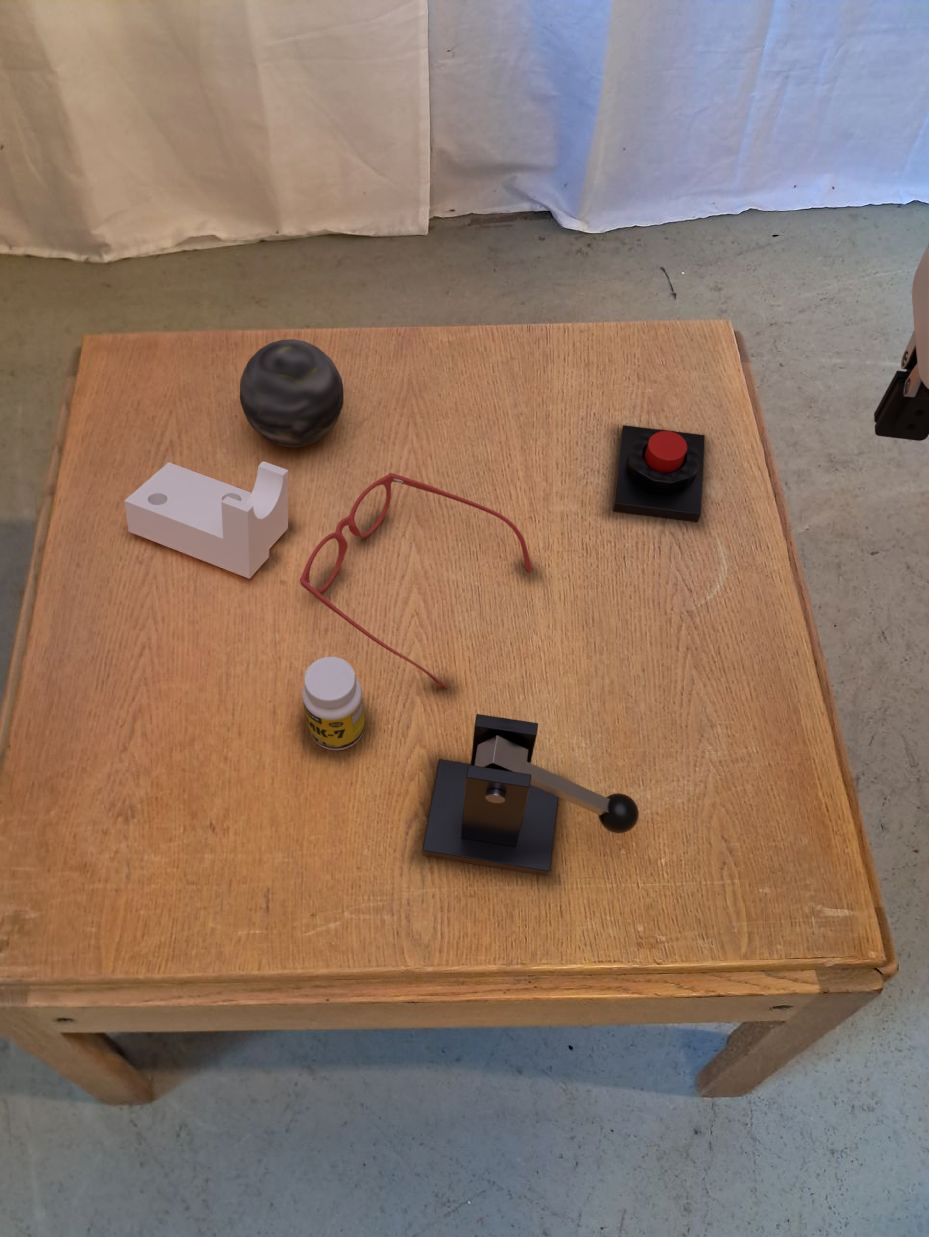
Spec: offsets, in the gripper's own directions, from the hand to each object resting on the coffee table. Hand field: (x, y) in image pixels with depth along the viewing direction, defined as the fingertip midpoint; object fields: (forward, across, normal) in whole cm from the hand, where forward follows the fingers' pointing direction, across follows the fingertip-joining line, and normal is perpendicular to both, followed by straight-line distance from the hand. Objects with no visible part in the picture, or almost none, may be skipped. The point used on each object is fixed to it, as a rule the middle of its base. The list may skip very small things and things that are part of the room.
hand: (898, 428), depth 65 cm
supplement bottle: (+27, -14, +36) cm, 47 cm away
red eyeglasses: (+27, +1, +32) cm, 42 cm away
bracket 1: (+27, +5, +52) cm, 59 cm away
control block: (+27, +18, +11) cm, 34 cm away
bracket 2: (+27, -20, +22) cm, 40 cm away
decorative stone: (+27, +18, +47) cm, 57 cm away
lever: (+20, -20, +18) cm, 34 cm away
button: (+24, +18, +11) cm, 32 cm away
